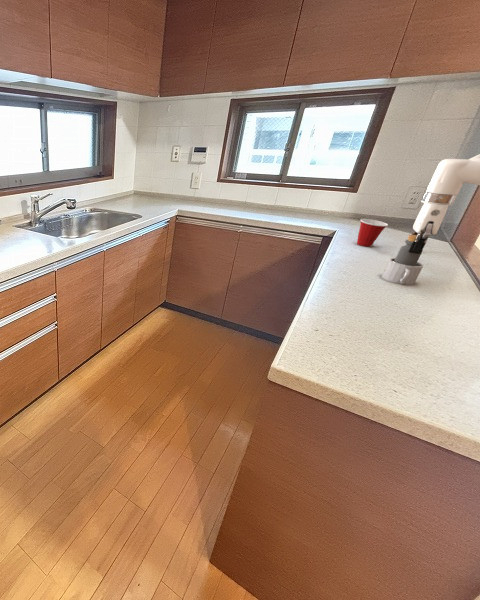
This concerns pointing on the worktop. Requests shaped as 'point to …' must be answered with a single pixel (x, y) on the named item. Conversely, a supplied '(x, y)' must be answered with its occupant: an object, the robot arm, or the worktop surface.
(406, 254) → the bottle
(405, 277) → the mug
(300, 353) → the worktop surface
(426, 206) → the robot arm
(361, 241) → the plastic cup
